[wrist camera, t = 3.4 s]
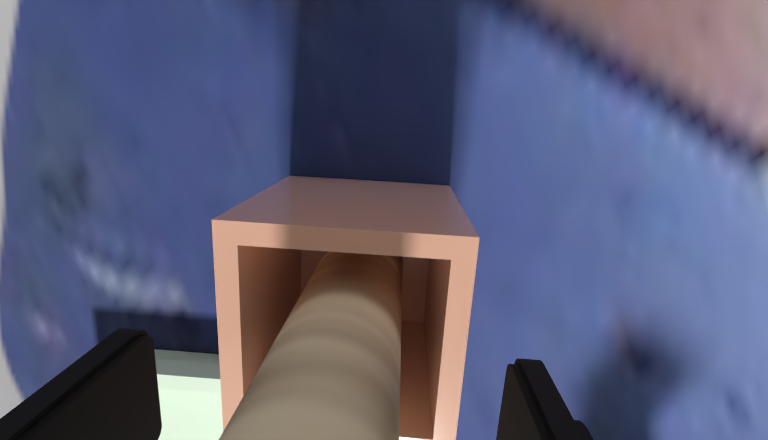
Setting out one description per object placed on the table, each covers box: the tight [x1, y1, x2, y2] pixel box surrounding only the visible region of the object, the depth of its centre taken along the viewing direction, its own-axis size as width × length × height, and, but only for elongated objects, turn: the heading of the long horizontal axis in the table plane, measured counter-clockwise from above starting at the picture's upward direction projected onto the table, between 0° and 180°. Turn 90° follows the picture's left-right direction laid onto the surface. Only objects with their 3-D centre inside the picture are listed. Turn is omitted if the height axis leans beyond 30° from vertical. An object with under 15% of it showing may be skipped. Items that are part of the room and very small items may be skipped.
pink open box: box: [212, 176, 480, 440], centre depth 16 cm, size 7×7×8 cm
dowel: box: [219, 251, 403, 440], centre depth 12 cm, size 4×4×15 cm
